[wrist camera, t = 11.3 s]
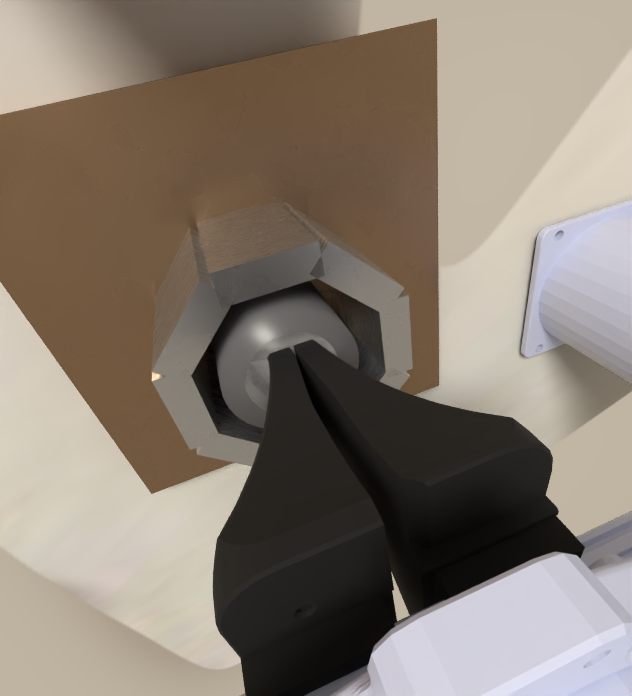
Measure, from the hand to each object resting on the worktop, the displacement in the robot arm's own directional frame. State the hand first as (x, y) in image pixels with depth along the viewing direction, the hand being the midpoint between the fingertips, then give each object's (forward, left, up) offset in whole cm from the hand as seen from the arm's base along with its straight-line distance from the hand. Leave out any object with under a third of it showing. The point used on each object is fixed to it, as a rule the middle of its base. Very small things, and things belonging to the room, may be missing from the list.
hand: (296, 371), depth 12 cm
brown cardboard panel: (0, 0, -6) cm, 6 cm away
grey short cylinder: (0, 0, -5) cm, 5 cm away
